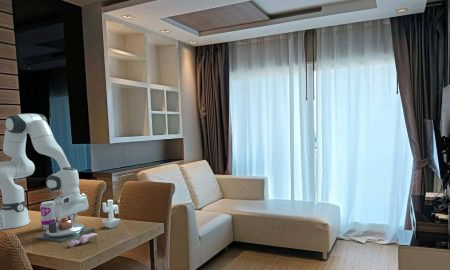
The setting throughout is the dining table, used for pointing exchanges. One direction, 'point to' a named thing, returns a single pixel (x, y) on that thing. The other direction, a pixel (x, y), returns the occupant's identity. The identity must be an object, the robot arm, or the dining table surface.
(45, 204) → the supplement can
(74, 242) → the rabbit figure
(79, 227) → the turntable
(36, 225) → the dining table surface
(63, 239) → the plinth
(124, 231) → the dining table surface
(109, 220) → the figurine
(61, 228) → the cover
